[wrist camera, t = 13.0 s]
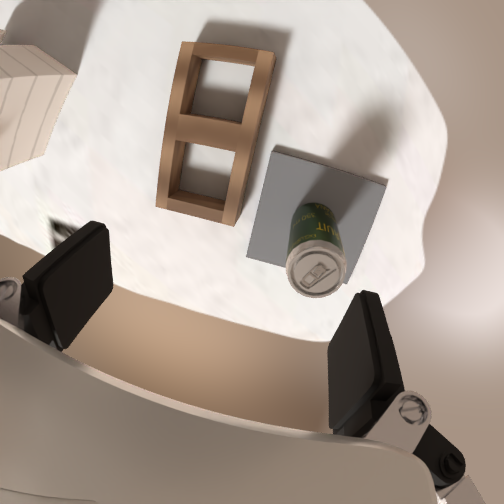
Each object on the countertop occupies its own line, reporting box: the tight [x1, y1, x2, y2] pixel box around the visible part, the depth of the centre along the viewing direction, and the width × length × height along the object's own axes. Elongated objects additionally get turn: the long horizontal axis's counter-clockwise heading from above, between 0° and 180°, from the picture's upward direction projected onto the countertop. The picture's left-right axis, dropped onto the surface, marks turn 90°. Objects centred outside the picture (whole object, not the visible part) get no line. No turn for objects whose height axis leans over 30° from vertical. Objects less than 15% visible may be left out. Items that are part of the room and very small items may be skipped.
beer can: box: [286, 202, 347, 298], centre depth 29 cm, size 5×5×12 cm
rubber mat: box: [246, 151, 386, 284], centre depth 35 cm, size 14×14×1 cm
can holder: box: [156, 42, 276, 227], centre depth 30 cm, size 20×10×4 cm, turn 168°
